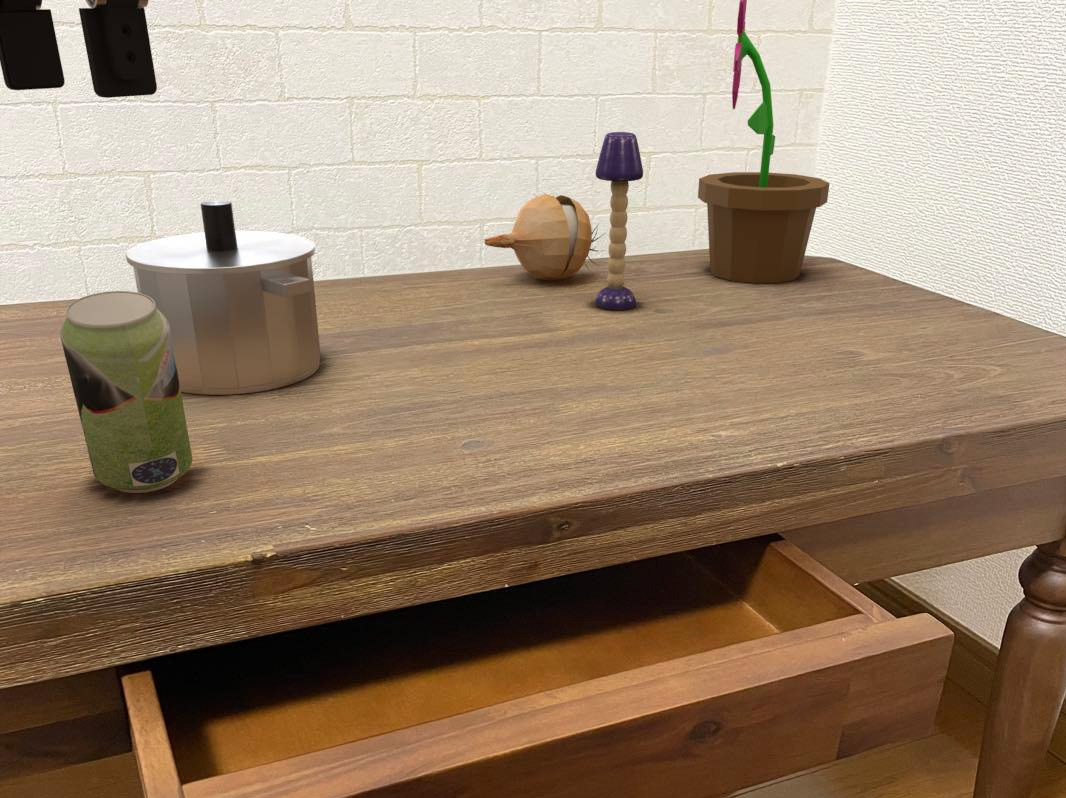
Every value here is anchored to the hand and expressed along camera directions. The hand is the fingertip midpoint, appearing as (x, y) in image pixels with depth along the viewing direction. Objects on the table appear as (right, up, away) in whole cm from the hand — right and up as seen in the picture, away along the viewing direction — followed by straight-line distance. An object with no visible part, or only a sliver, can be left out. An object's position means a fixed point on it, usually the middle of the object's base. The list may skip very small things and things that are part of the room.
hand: (79, 91), depth 56 cm
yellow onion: (+25, +5, +62) cm, 67 cm away
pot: (-1, -10, +32) cm, 33 cm away
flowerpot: (+50, +7, +65) cm, 82 cm away
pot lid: (-1, -1, +28) cm, 28 cm away
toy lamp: (+32, 0, +51) cm, 61 cm away
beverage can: (0, -21, +11) cm, 23 cm away
